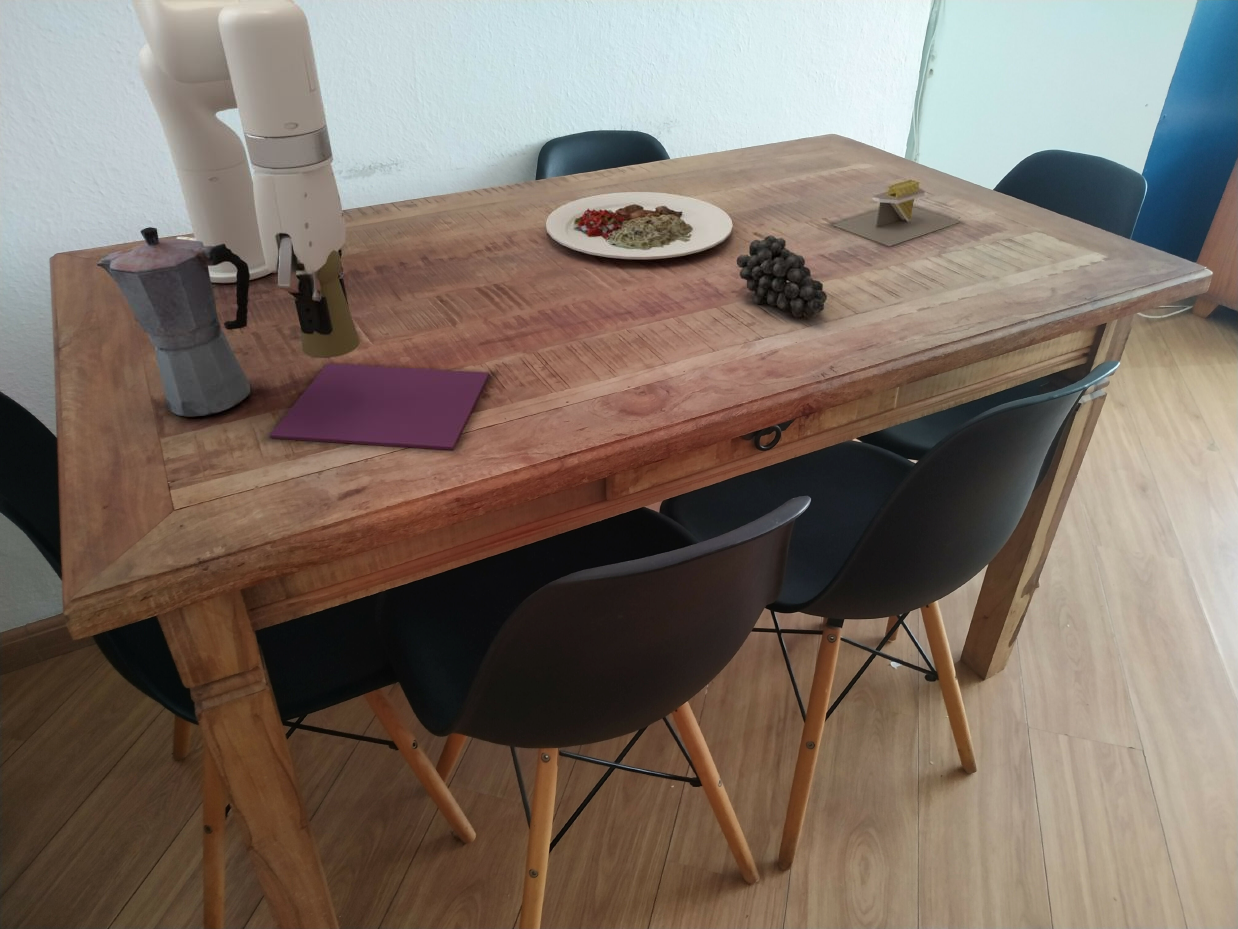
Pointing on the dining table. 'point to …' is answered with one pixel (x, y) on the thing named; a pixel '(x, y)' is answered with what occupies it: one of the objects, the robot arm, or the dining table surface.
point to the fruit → (781, 278)
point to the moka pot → (185, 319)
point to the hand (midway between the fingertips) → (326, 321)
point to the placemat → (384, 406)
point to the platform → (896, 217)
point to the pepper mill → (331, 315)
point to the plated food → (639, 225)
